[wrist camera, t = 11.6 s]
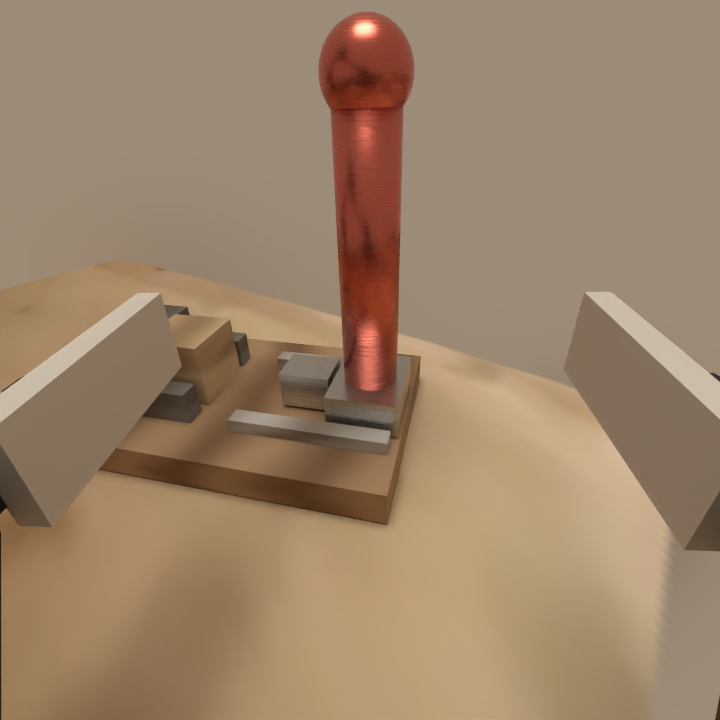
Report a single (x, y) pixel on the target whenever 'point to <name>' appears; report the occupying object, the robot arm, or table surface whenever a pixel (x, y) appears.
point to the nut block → (205, 354)
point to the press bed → (266, 440)
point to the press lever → (363, 227)
